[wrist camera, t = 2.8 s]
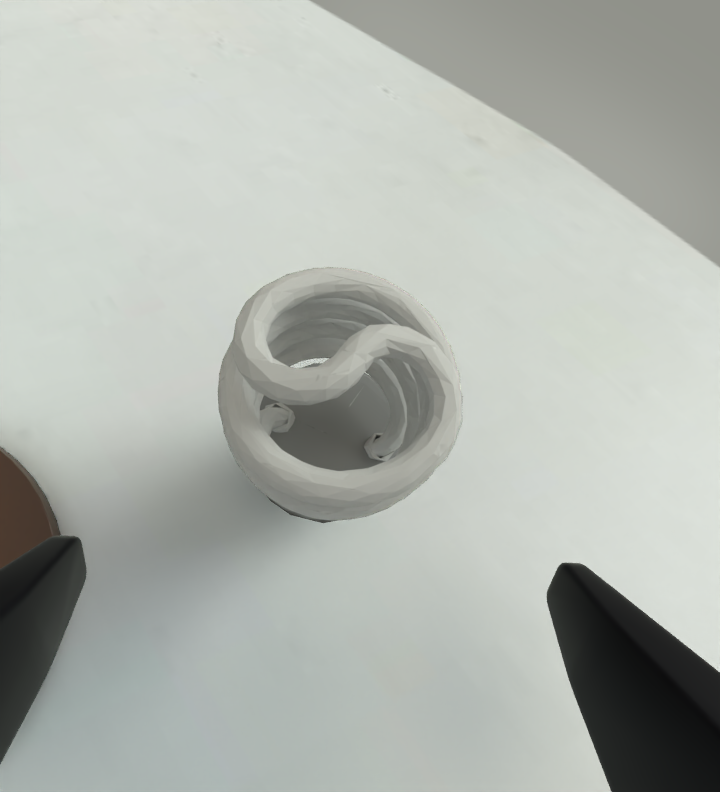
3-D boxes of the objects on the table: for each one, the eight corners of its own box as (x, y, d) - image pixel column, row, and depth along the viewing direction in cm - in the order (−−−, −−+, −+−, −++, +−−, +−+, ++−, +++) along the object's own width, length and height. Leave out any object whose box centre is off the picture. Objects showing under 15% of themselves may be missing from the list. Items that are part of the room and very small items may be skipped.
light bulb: (241, 521, 18) (159, 486, 7) (266, 393, 20) (230, 202, 9) (377, 538, 19) (499, 528, 8) (389, 411, 21) (501, 252, 10)
